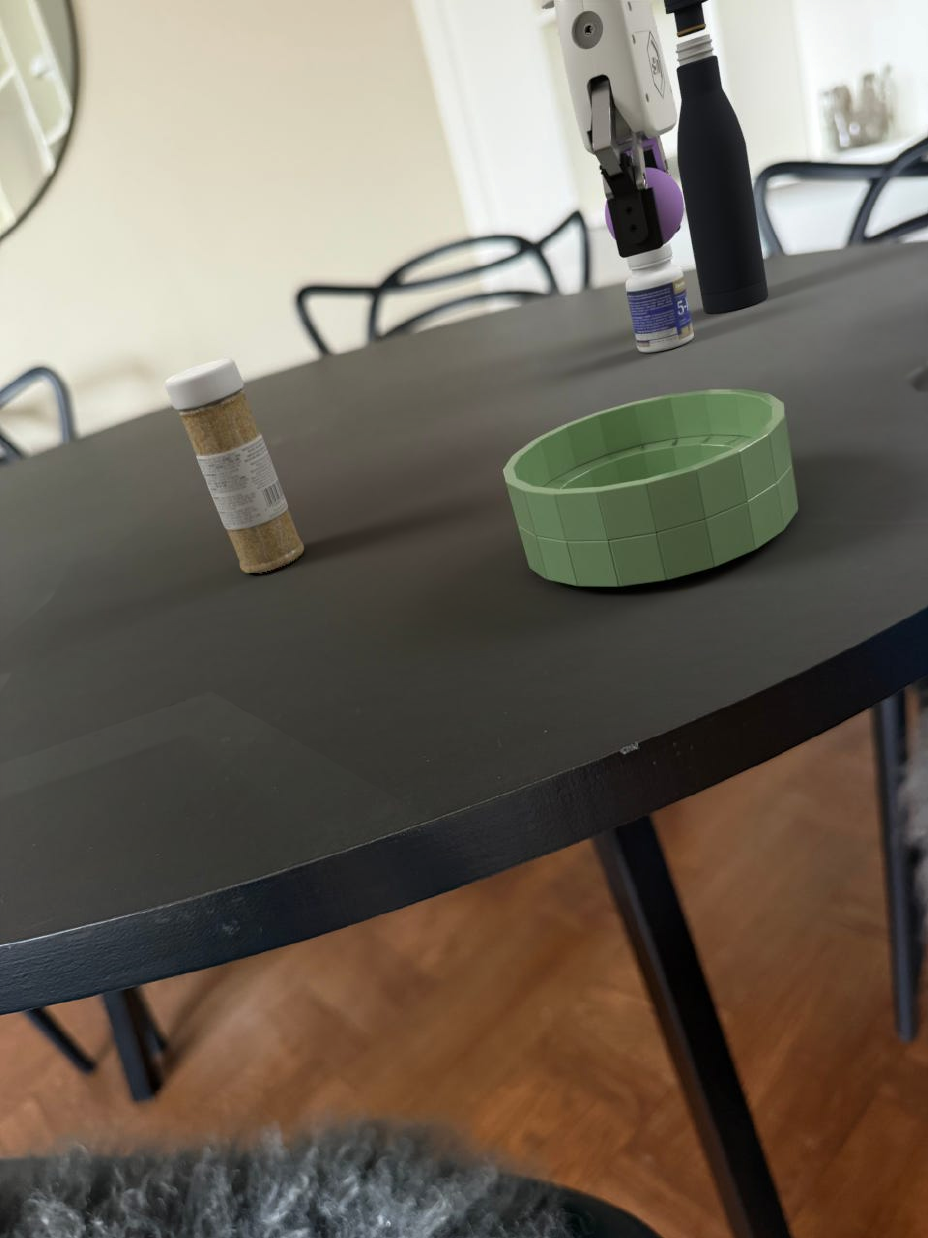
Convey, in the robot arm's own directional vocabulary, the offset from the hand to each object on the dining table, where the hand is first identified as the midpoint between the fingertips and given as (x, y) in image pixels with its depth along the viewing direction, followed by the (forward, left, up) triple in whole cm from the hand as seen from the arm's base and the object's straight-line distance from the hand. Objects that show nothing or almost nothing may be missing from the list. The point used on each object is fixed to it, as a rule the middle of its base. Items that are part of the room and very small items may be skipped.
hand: (651, 241), depth 72 cm
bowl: (+22, +18, -11) cm, 31 cm away
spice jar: (+33, -7, -11) cm, 36 cm away
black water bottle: (-26, -14, -11) cm, 32 cm away
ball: (0, 0, +2) cm, 2 cm away
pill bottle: (-13, -12, -11) cm, 21 cm away
